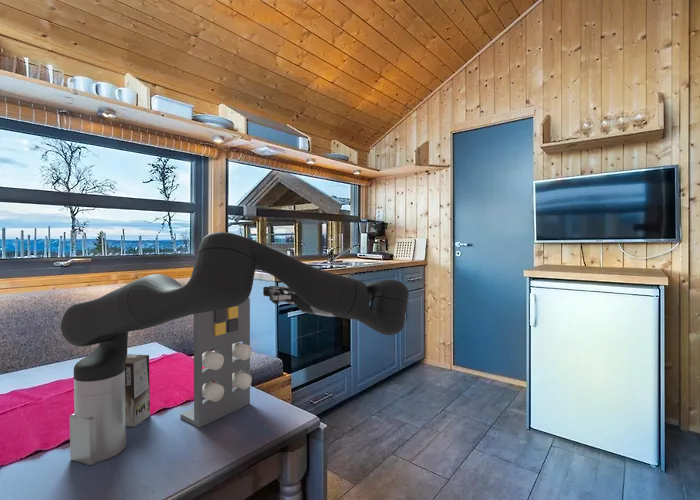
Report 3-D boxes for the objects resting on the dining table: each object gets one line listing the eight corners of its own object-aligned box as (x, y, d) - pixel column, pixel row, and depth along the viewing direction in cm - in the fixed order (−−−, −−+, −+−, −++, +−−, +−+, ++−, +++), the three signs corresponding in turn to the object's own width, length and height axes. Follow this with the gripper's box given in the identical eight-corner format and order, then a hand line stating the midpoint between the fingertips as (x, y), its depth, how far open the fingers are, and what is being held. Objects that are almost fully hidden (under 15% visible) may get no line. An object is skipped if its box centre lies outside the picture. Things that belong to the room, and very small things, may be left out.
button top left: (224, 367, 94) (224, 351, 94) (210, 372, 91) (210, 356, 91) (214, 364, 96) (214, 349, 96) (200, 368, 93) (200, 352, 93)
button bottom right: (251, 386, 102) (251, 372, 102) (240, 391, 99) (239, 376, 98) (242, 383, 104) (242, 369, 104) (230, 388, 101) (230, 373, 101)
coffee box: (151, 415, 98) (150, 354, 97) (134, 427, 91) (134, 362, 91) (119, 413, 99) (118, 353, 98) (100, 425, 92) (99, 361, 92)
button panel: (251, 404, 104) (251, 298, 103) (200, 428, 91) (199, 307, 90) (231, 396, 109) (231, 295, 108) (180, 418, 96) (179, 303, 95)
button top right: (251, 357, 102) (251, 343, 101) (239, 362, 98) (239, 347, 98) (242, 355, 104) (242, 341, 104) (230, 359, 100) (230, 344, 100)
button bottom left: (224, 398, 94) (224, 383, 94) (210, 404, 91) (210, 388, 91) (214, 394, 97) (214, 379, 96) (200, 400, 93) (200, 384, 93)
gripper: (340, 278, 87) (286, 273, 97) (301, 284, 76) (244, 277, 86) (340, 309, 87) (286, 301, 97) (301, 320, 76) (245, 310, 86)
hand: (267, 290), depth 91 cm, fingers closed
